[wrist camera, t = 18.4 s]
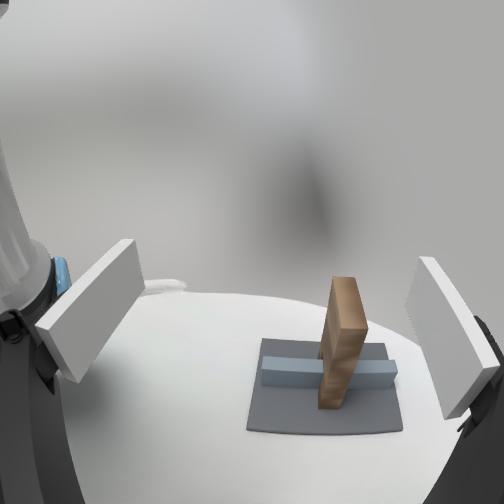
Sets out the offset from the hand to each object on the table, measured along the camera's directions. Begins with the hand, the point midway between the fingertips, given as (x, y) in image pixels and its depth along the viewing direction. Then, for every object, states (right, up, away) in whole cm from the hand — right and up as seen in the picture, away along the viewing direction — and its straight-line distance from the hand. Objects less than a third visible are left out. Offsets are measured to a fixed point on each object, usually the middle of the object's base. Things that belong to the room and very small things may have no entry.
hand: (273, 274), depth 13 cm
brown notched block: (+10, -19, +27) cm, 35 cm away
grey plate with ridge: (+10, -19, +28) cm, 35 cm away
